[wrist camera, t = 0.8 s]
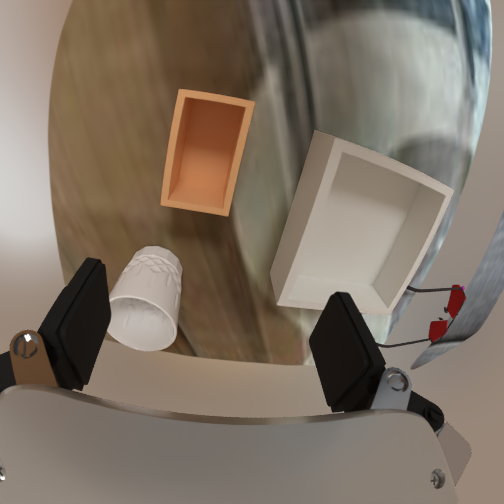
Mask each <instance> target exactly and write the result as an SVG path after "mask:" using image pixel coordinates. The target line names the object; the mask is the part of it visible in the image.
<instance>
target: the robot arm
mask: <svg viewBox="0 0 504 504" xmlns="http://www.w3.org/2000/svg"><path fill="white" fill-rule="evenodd" d="M111 315H112V314H111V307H110V300H109V293H108V285H107V277H106V267H105V264H102V262H101V260H100V259H94V258H89V257H88V258H86V260H85V261H84V262H83V264H82V265H81V267H80V268H79V269H78V271H77V272H76V274H75V275H74V277H73V278H72V280H71V281H70V283H69V284H68V286H66V287H65V288H64V289H63V290H62V292H61V293H60V295H59V296H58V298H57V299H56V301H55V302H54V304H53V306H52V307H51V309H50V311H49V312H48V314H47V316H46V318H45V319H44V321H43V322H42V324H41V326H40V328H39V329H38V331H37V332H35V331H33V330H24V331H21V332H19V333H17V334H16V335H15V336H14V337H13V339H12V340H11V343H10V351H8V352H5V353H3V354H1V355H0V504H459V500H458V496H457V493H456V489H455V486H456V484H457V482H458V480H459V479H460V477H461V475H462V473H463V471H464V469H465V467H466V465H467V463H468V461H469V459H470V457H471V454H472V453H471V447H470V445H469V443H468V442H467V441H466V440H465V439H464V438H463V437H462V436H461V435H460V434H459V433H458V432H457V431H456V430H455V429H454V428H453V427H452V426H451V425H450V424H449V423H448V422H446V423H444V415H443V412H442V410H441V409H440V408H439V407H438V406H437V405H435V404H434V403H432V402H430V401H429V400H427V399H425V398H423V397H422V396H420V395H418V394H417V393H415V392H413V391H412V390H411V388H412V384H411V380H410V378H409V376H408V375H407V374H406V373H405V372H404V371H402V370H400V369H399V368H394V367H391V368H388V369H386V368H385V364H386V362H385V360H384V358H383V356H382V354H381V352H380V350H379V348H378V346H377V344H376V342H375V340H374V338H373V336H372V334H371V332H370V330H369V328H368V326H367V325H366V323H365V321H364V319H363V317H362V315H361V313H360V311H359V310H358V308H357V306H356V304H355V302H354V300H353V299H352V297H351V295H350V294H349V293H348V292H339V291H337V292H335V293H334V294H332V295H331V296H330V297H329V299H328V301H327V304H326V306H325V308H324V310H323V312H322V314H321V316H320V318H319V320H318V322H317V324H316V326H315V328H314V330H313V332H312V334H311V336H310V339H309V344H310V348H311V351H312V354H313V358H314V361H315V364H316V368H317V371H318V375H319V378H320V381H321V385H322V388H323V392H324V395H325V399H326V402H327V405H328V406H331V410H332V412H333V413H334V412H342V411H344V413H338V414H328V415H317V416H304V417H283V418H239V417H218V416H205V415H194V414H185V413H177V412H169V411H162V410H156V409H150V408H144V407H139V406H134V405H128V404H124V403H119V402H115V401H110V400H106V399H102V398H98V397H94V396H90V395H86V394H83V393H79V392H75V391H72V390H73V389H77V390H80V391H82V389H83V386H84V385H87V384H88V382H89V379H90V376H91V373H92V370H93V367H94V364H95V362H96V359H97V356H98V353H99V350H100V347H101V345H102V342H103V339H104V337H105V334H106V332H107V329H108V327H109V324H110V321H111Z"/></svg>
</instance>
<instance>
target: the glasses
mask: <svg viewBox="0 0 504 504" xmlns="http://www.w3.org/2000/svg"><path fill="white" fill-rule="evenodd" d="M406 289H409V290H411V291H414V292H433V291H434V292H435V291H447V290H451V295H450V299H449V303H448V306H447V309H446V308H445V307H444V311H445V313H447V312H449V314H450V315H451V317H452V319H453V320H454V319H455V317H456V315H458V312H459V311H460V309H461V307H462V305H463V303H464V301H465V300H466V296H465V293H464V291H463V290H464V289H465V288H464V286H462V287H460V285H452V288H440V289H415V288H413V287H410V286H407V288H406ZM439 319H440V320H443V319H442V318H439ZM453 320H452V322H453ZM447 321H448V320H445V321H432V322H431V323H430V330H429V338H428V339H423V340H418V341H413V342H407V343H402V344H396V345H382V344H379V343H376V344H377V346H380V347H385V348H390V347H396V346H402V345H407V344H413V343H418V342H423V341H428V340H431V342H432V343H434V341H435V340H437V339H438V338H440V337H441V338H442V337H443V336H444V335H445V334H446V332H448V331H447V330H448V328H449V327H450V325H451V323H452V322H451V323H450V325H449V326H448V328H447ZM441 338H440V339H439V341H440V340H441ZM439 341H438V342H439ZM438 342H436V343H438ZM436 343H434V344H436Z"/></svg>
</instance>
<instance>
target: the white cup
mask: <svg viewBox="0 0 504 504" xmlns="http://www.w3.org/2000/svg"><path fill="white" fill-rule="evenodd" d="M182 270H183V268H182V266H181V264H180V261H179V259H178V258H177V257H176V256H175V255H174V254H173V253H172V252H171V251H170V250H167V249H165V248H162V247H159V246H146V247H144V248H142V249H140V250H139V251H137V252H136V253H135V255H134V257H133V258H132V260H131V261H130V263H129V264H128V265H127V266H126V268H125V269H124V271H123V272H122V274H121V275H120V277H119V279H118V280H117V282H116V284H115V286H114V287H113V289H112V291H111V293H110V295H109V300H110V307H111V314H112V315H111V321H110V324H109V327H108V329H107V331H108V333H109V334H110V335H111V336H112V337H113V338H114V339H116V340H117V341H118V342H120V343H122V344H123V345H125V346H127V347H130V348H133V349H136V350H140V351H159V350H163V349H165V348H167V347H169V346H170V345H171V344H172V343H173V342H174V340H175V338H176V335H177V325H178V316H179V307H180V299H181V288H182V286H181V280H182Z"/></svg>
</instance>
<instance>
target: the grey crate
mask: <svg viewBox="0 0 504 504" xmlns="http://www.w3.org/2000/svg"><path fill="white" fill-rule="evenodd" d="M453 191H454V190H453V189H451V188H449V187H448V186H446V185H444V184H442V183H441V182H439V181H437V180H435V179H433V178H431V177H430V176H428V175H426V174H424V173H422V172H420V171H418V170H416V169H414V168H412V167H410V166H407V165H405V164H403V163H401V162H399V161H396V160H394V159H392V158H390V157H387V156H385V155H383V154H380V153H378V152H375V151H373V150H371V149H368V148H366V147H363V146H360V145H358V144H355V143H352V142H350V141H347V140H344V139H341V138H339V137H336V136H333V135H330V134H327V133H324V132H321V131H318V130H314V133H313V136H312V140H311V143H310V146H309V150H308V153H307V156H306V160H305V163H304V166H303V170H302V173H301V176H300V180H299V183H298V186H297V189H296V192H295V196H294V199H293V202H292V205H291V208H290V212H289V215H288V218H287V221H286V224H285V227H284V230H283V234H282V237H281V240H280V243H279V246H278V249H277V252H276V255H275V258H274V261H273V264H272V267H271V270H270V277H271V282H272V286H273V291H274V295H275V300H276V304H277V305H278V306H287V307H296V308H306V309H317V310H324V308H325V306H326V304H327V301H328V299H329V297H330V296H331V295H332V294H334V293H335V292H337V291H339V292H348V293H349V294H350V295H351V297H352V299H353V300H354V302H355V304H356V306H357V308H358V310H359V311H360V313H367V314H384V315H390V313H391V312H392V310H393V309H394V307H395V306H396V304H397V302H398V301H399V299H400V298H401V296H402V294H403V293H404V291H405V289H406V288H407V286H408V284H409V283H410V281H411V279H412V277H413V276H414V274H415V272H416V270H417V268H418V267H419V265H420V263H421V261H422V259H423V257H424V255H425V253H426V251H427V249H428V247H429V245H430V243H431V241H432V239H433V237H434V235H435V233H436V231H437V229H438V227H439V225H440V222H441V220H442V218H443V216H444V213H445V211H446V209H447V206H448V204H449V201H450V199H451V196H452V194H453Z"/></svg>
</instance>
